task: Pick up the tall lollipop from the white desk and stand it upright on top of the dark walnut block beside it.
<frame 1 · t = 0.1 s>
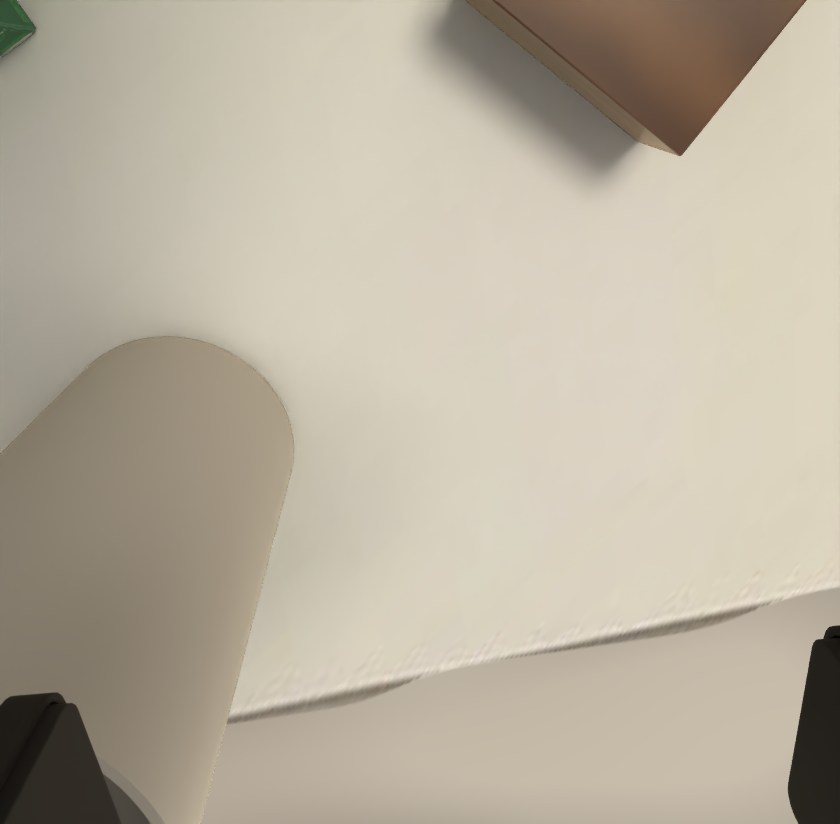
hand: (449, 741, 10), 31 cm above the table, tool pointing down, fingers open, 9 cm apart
cylinder vase: (185, 435, 43), on the table
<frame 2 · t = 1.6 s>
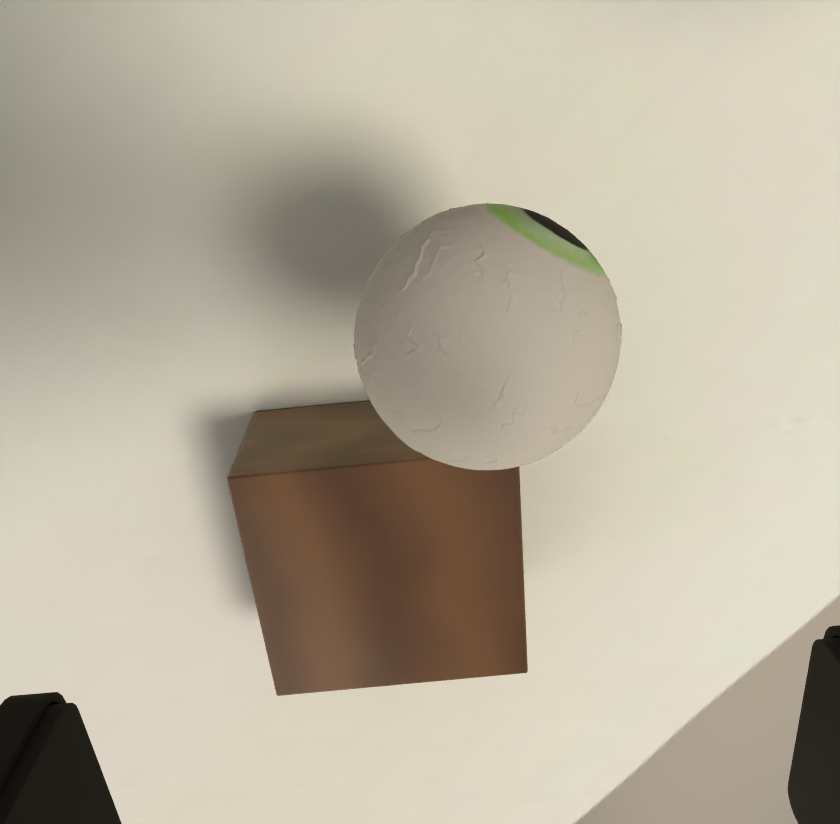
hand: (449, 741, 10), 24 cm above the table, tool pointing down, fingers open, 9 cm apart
lollipop: (454, 244, 31), on the table
walnut block: (389, 504, 36), on the table
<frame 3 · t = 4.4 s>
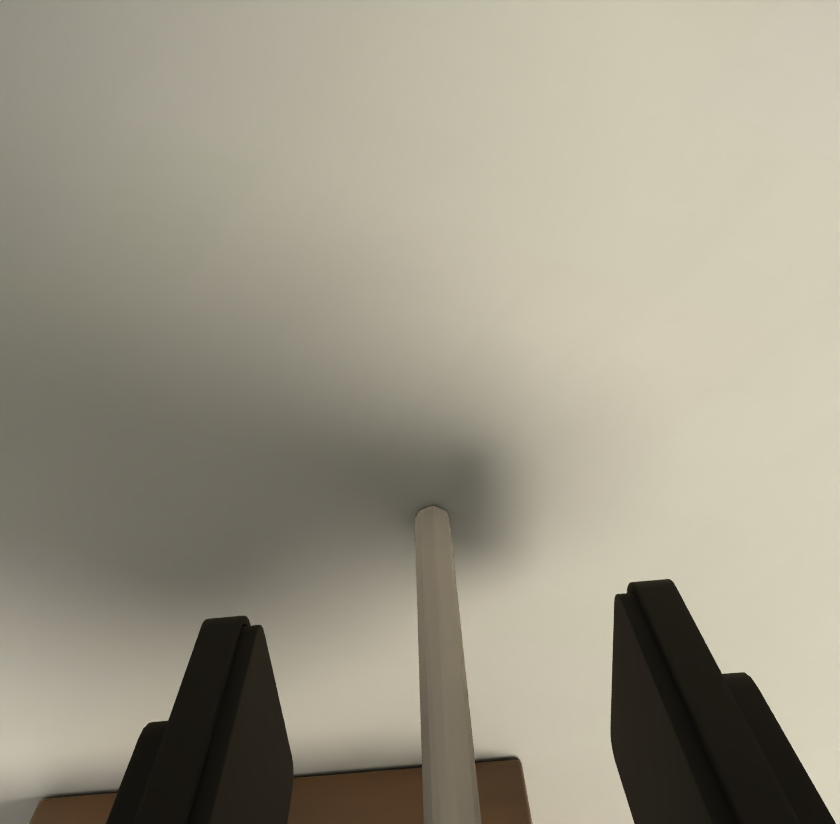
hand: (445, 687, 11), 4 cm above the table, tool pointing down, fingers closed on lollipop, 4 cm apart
lollipop: (431, 515, 14), on the table, touching gripper
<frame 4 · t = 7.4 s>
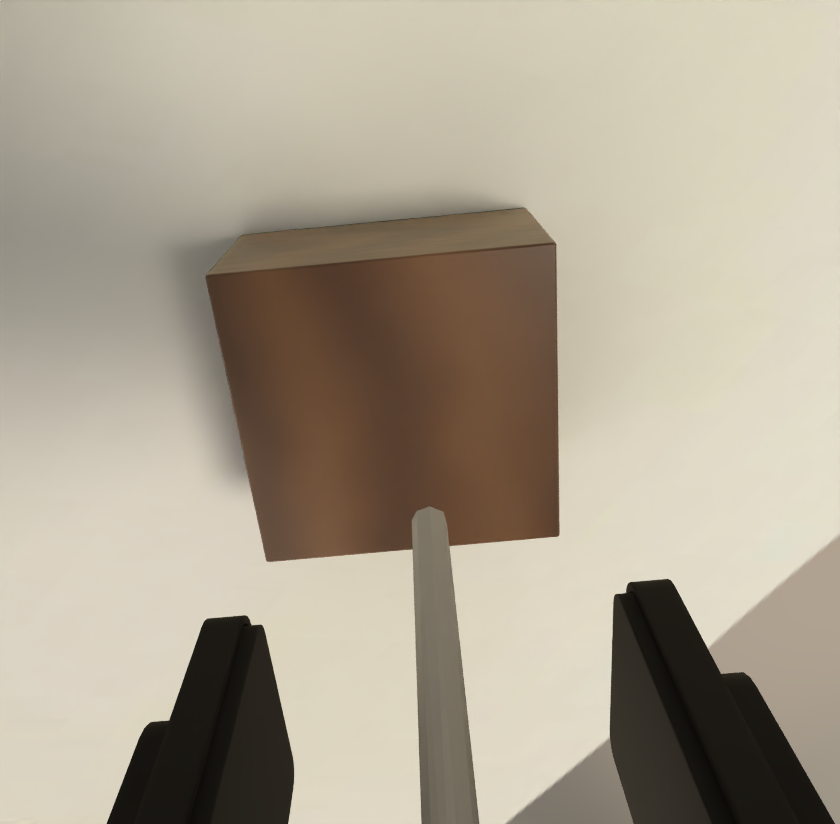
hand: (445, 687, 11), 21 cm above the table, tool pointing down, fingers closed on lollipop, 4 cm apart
lollipop: (428, 516, 14), point 17 cm above the table, touching gripper
walnut block: (398, 355, 31), on the table
when the fingers open (10 cm above the table, at t = 10.6 s): lollipop stays where it is, resting on walnut block.
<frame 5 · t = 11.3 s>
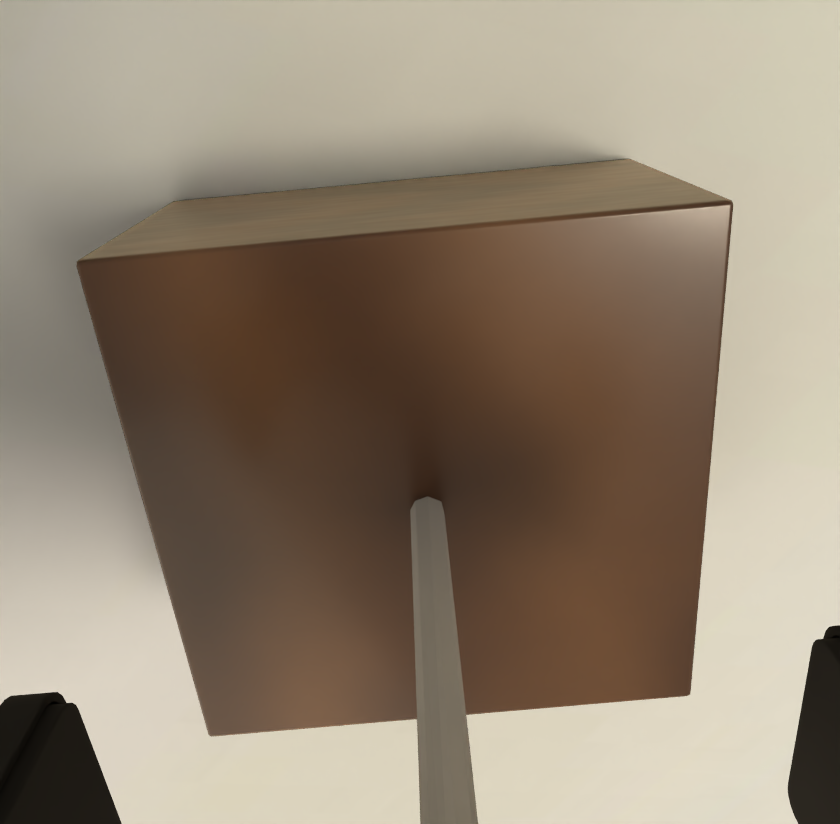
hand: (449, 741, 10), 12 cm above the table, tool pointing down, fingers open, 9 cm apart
lollipop: (426, 506, 15), point 6 cm above the table, touching walnut block
walnut block: (420, 391, 20), on the table
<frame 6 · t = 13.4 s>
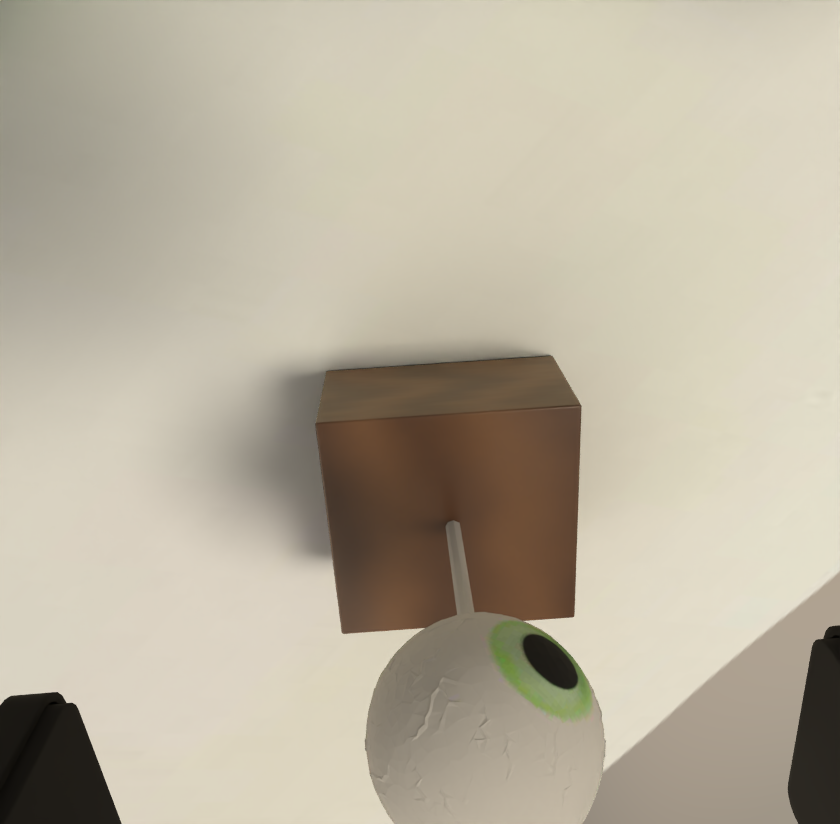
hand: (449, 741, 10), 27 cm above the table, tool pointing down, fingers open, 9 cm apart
lollipop: (452, 524, 33), point 6 cm above the table, touching walnut block
walnut block: (444, 463, 39), on the table
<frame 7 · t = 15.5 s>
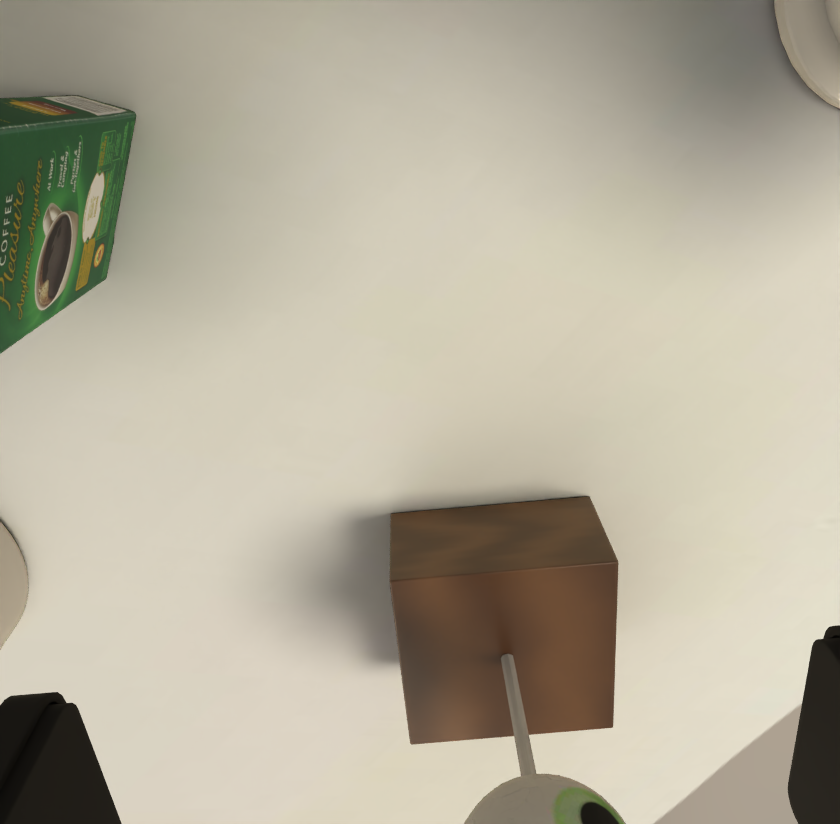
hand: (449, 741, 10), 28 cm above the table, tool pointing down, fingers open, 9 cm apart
lollipop: (506, 656, 38), point 6 cm above the table, touching walnut block
coffee box: (95, 186, 34), on the table
walnut block: (494, 584, 44), on the table
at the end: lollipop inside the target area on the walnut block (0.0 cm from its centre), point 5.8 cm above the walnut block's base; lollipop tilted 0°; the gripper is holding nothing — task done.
